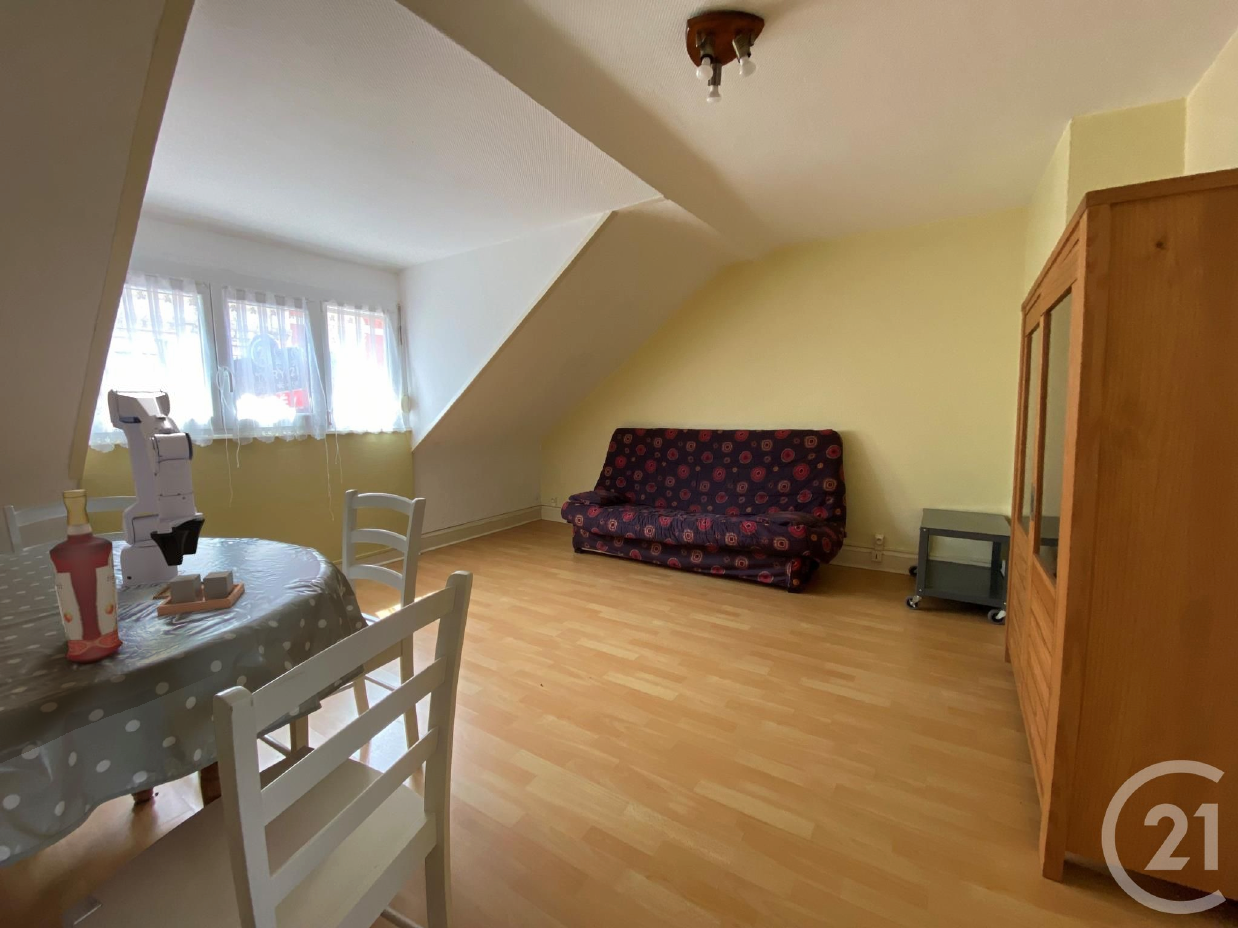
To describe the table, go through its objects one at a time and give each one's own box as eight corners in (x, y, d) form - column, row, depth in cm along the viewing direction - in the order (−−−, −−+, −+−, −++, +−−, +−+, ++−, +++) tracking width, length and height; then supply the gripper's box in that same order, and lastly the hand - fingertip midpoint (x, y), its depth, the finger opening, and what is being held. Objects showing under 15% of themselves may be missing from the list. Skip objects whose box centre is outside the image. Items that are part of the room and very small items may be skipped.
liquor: (125, 657, 91) (104, 491, 87) (63, 672, 86) (37, 497, 82) (125, 642, 96) (106, 485, 92) (67, 655, 91) (43, 490, 88)
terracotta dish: (158, 617, 106) (156, 607, 106) (178, 599, 116) (177, 589, 115) (231, 609, 111) (230, 598, 110) (244, 592, 120) (243, 582, 120)
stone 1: (171, 608, 110) (168, 582, 109) (179, 601, 113) (176, 575, 113) (195, 605, 111) (193, 579, 110) (202, 598, 115) (200, 573, 114)
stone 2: (205, 604, 112) (202, 578, 111) (212, 597, 115) (209, 572, 115) (228, 601, 113) (226, 576, 112) (234, 595, 117) (232, 570, 116)
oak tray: (152, 601, 115) (152, 597, 114) (168, 588, 122) (168, 584, 122) (221, 594, 119) (220, 589, 119) (232, 582, 126) (231, 578, 126)
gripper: (185, 499, 104) (193, 568, 106) (211, 486, 117) (217, 547, 119) (139, 501, 101) (148, 572, 103) (171, 488, 115) (178, 551, 116)
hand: (182, 559), depth 111 cm, fingers open, 7 cm apart
